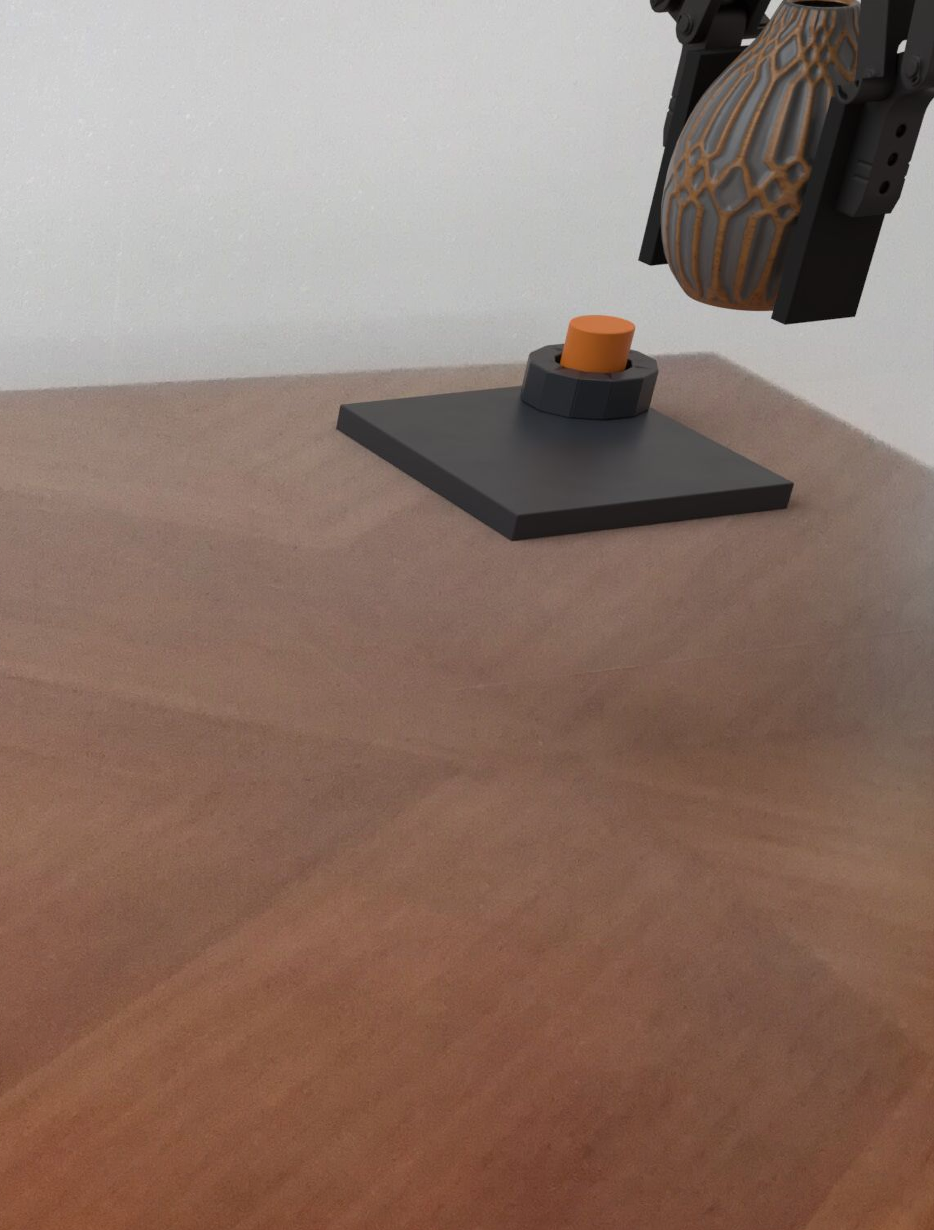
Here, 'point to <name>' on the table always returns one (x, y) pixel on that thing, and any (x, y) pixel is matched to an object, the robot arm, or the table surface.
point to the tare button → (597, 344)
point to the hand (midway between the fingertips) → (743, 286)
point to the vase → (755, 155)
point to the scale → (563, 453)
